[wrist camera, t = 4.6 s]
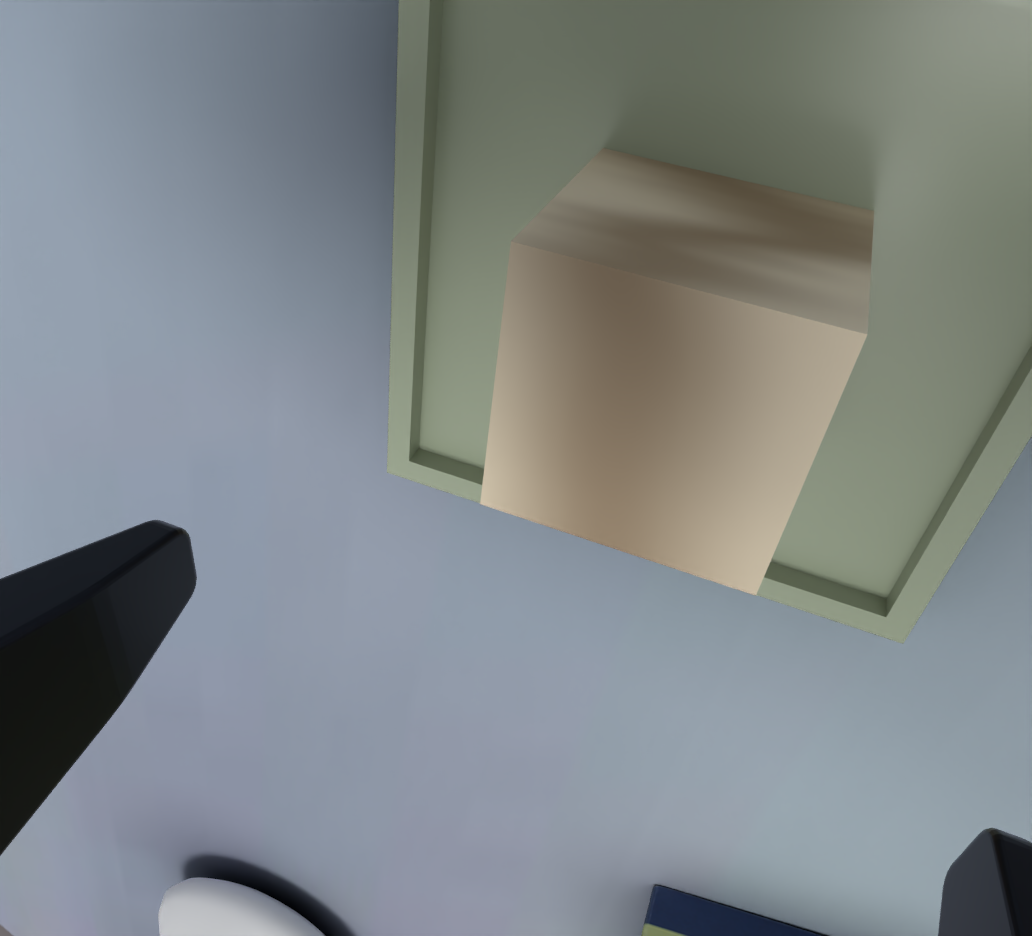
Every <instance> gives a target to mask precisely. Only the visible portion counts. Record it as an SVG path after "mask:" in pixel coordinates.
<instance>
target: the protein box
mask: <svg viewBox="0 0 1032 936" xmlns="http://www.w3.org/2000/svg"><path fill="white" fill-rule="evenodd" d="M641 936H822V935H819V934H815V933H812V932H809V931H806V930H802V929H799V928H796V927H793V926H790V925H786V924H783V923H780V922H777V921H773V920H770V919H767V918H764V917H760V916H757V915H754V914H750V913H747V912H744V911H741V910H737V909H734V908H731V907H727V906H724V905H721V904H718V903H714V902H711V901H708V900H705V899H702V898H698V897H695V896H692V895H689V894H686V893H683V892H679V891H676V890H673V889H670V888H667V887H662V886H655V887H653V890H652V894H651V898H650V903H649V907H648V910H647V914H646V918H645V923H644V927H643V931H642V935H641Z"/></svg>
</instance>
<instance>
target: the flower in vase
mask: <svg viewBox="0 0 1032 936" xmlns="http://www.w3.org/2000/svg"><path fill="white" fill-rule="evenodd" d="M158 916H159V930H160V936H325V935H324V934H323V933H322V932H321V931H320V930H319V929H318V928H316V927H315V926H314V925H313V924H312V923H310V922H309V921H308V920H307V919H305V918H304V917H303V916H301V915H300V914H299V913H297V912H296V911H294V910H293V909H291V908H290V907H288V906H286V905H285V904H283V903H281V902H279V901H278V900H276V899H274V898H272V897H270V896H268V895H266V894H264V893H262V892H260V891H258V890H255V889H253V888H250V887H247V886H244V885H241V884H237V883H234V882H230V881H225V880H219V879H212V878H202V877H196V878H189V879H186V880H184V881H182V882H180V883H178V884H176V885H174V886H172V887H170V888H169V889H167V891H166V892H165V894H164V897H163V900H162V903H161V907H160V910H159V915H158Z"/></svg>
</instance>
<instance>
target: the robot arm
mask: <svg viewBox="0 0 1032 936" xmlns="http://www.w3.org/2000/svg"><path fill="white" fill-rule="evenodd" d="M196 580H197V576H196V569H195V563H194V558H193V552H192V546H191V540H190V537H189V534H188V533H187V532H186V531H185V530H184V529H182V528H180V527H177V526H174V525H172V524H169V523H166V522H164V521H160V520H152V521H148V522H145V523H142V524H140V525H137V526H134V527H132V528H129V529H127V530H124V531H122V532H119V533H117V534H114V535H111V536H109V537H106V538H104V539H101V540H99V541H96V542H93V543H91V544H88V545H86V546H83V547H81V548H78V549H76V550H73V551H70V552H68V553H65V554H63V555H60V556H58V557H55V558H52V559H50V560H47V561H45V562H42V563H40V564H37V565H35V566H32V567H29V568H27V569H24V570H22V571H19V572H17V573H14V574H11V575H9V576H6V577H4V578H1V579H0V855H1V854H2V853H3V852H4V850H5V849H6V848H7V847H8V845H9V844H10V843H11V842H12V840H13V839H14V838H15V837H16V835H17V834H18V833H19V832H20V831H21V829H22V828H23V827H24V826H25V824H26V823H27V822H28V821H29V819H30V818H31V817H32V816H33V814H34V813H35V812H36V811H37V809H38V808H39V807H40V806H41V804H42V803H43V802H44V801H45V799H46V798H47V797H48V796H49V794H50V793H51V792H52V791H53V789H54V788H55V787H56V786H57V784H58V783H59V782H60V781H61V779H62V778H63V777H64V776H65V774H66V773H67V772H68V771H69V769H70V768H71V767H72V766H73V764H74V763H75V762H76V761H77V759H78V758H79V757H80V756H81V754H82V753H83V752H84V751H85V749H86V748H87V747H88V746H89V744H90V743H91V742H92V741H93V739H94V738H95V737H96V736H97V734H98V733H99V732H100V731H101V729H102V728H103V727H104V726H105V724H106V723H107V722H108V721H109V719H110V718H111V717H112V715H113V714H114V713H115V711H116V710H117V709H118V708H119V706H120V705H121V704H122V702H123V701H124V699H125V698H126V697H127V695H128V694H129V692H130V691H131V689H132V688H133V686H134V685H135V683H136V682H137V680H138V679H139V677H140V676H141V674H142V673H143V671H144V669H145V668H146V666H147V665H148V663H149V662H150V660H151V659H152V657H153V655H154V654H155V652H156V651H157V649H158V648H159V646H160V645H161V643H162V641H163V640H164V638H165V637H166V635H167V634H168V632H169V631H170V629H171V628H172V626H173V624H174V623H175V621H176V620H177V618H178V617H179V615H180V614H181V612H182V610H183V609H184V607H185V606H186V604H187V603H188V601H189V600H190V598H191V596H192V594H193V592H194V589H195V586H196ZM938 936H1032V843H1031V842H1029V841H1027V840H1025V839H1023V838H1020V837H1017V836H1015V835H1012V834H1009V833H1006V832H1004V831H1001V830H998V829H995V828H989V829H985V830H983V831H982V832H981V833H980V834H979V835H978V836H977V837H976V838H975V839H974V840H973V842H972V843H971V844H970V845H969V846H968V847H967V848H966V849H965V850H964V852H963V853H962V854H961V855H960V856H959V857H958V858H957V859H956V860H955V862H954V863H953V864H952V865H951V867H950V868H949V870H948V872H947V875H946V878H945V881H944V885H943V893H942V903H941V913H940V922H939V932H938Z"/></svg>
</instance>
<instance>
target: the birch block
mask: <svg viewBox="0 0 1032 936" xmlns="http://www.w3.org/2000/svg"><path fill="white" fill-rule="evenodd" d="M873 225H874V211H872V210H868V209H864V208H859V207H855V206H851V205H846V204H842V203H838V202H834V201H829V200H825V199H821V198H816V197H812V196H808V195H803V194H799V193H795V192H790V191H786V190H782V189H778V188H773V187H769V186H765V185H760V184H756V183H752V182H747V181H743V180H739V179H735V178H730V177H726V176H722V175H717V174H713V173H709V172H704V171H700V170H696V169H691V168H687V167H683V166H679V165H674V164H670V163H666V162H661V161H657V160H653V159H648V158H644V157H640V156H636V155H631V154H627V153H623V152H618V151H614V150H610V149H605V148H602V149H601V150H600V151H599V152H598V154H597V155H596V156H595V157H594V158H593V159H592V160H591V161H590V162H589V163H588V164H587V165H586V166H585V167H584V168H583V169H582V170H581V171H580V172H579V173H578V174H577V175H576V176H575V177H574V178H573V179H572V180H571V181H570V182H569V183H568V184H567V185H566V186H565V187H564V188H563V189H562V190H561V191H560V192H559V193H558V194H557V195H556V196H555V197H554V198H553V199H552V200H551V201H550V202H549V203H548V204H547V205H546V206H545V207H544V208H543V209H542V210H541V211H540V212H539V213H538V214H537V215H536V216H535V217H534V218H533V219H532V220H531V221H530V222H529V223H528V224H527V225H526V226H525V228H524V229H523V230H522V231H521V232H520V233H519V234H518V235H517V236H516V237H515V238H514V239H513V240H512V241H511V245H510V253H509V262H508V270H507V279H506V287H505V296H504V304H503V313H502V321H501V330H500V338H499V347H498V355H497V364H496V373H495V381H494V390H493V398H492V407H491V415H490V424H489V432H488V441H487V449H486V458H485V466H484V475H483V483H482V492H481V501H480V504H481V505H484V506H487V507H491V508H494V509H497V510H500V511H503V512H506V513H509V514H512V515H515V516H518V517H521V518H524V519H527V520H530V521H533V522H536V523H539V524H542V525H545V526H548V527H551V528H554V529H557V530H560V531H563V532H566V533H569V534H572V535H575V536H578V537H581V538H584V539H587V540H590V541H593V542H596V543H599V544H602V545H605V546H608V547H611V548H614V549H617V550H620V551H623V552H626V553H629V554H632V555H635V556H638V557H641V558H644V559H647V560H650V561H653V562H656V563H659V564H662V565H665V566H668V567H671V568H674V569H677V570H680V571H683V572H686V573H689V574H692V575H695V576H698V577H701V578H704V579H707V580H710V581H713V582H716V583H719V584H722V585H725V586H728V587H731V588H734V589H737V590H740V591H743V592H746V593H749V594H752V595H755V596H756V594H757V592H758V590H759V587H760V585H761V583H762V580H763V578H764V576H765V573H766V571H767V568H768V566H769V564H770V561H771V559H772V557H773V554H774V552H775V550H776V547H777V545H778V543H779V540H780V538H781V536H782V533H783V531H784V529H785V526H786V524H787V522H788V519H789V517H790V515H791V512H792V510H793V508H794V505H795V503H796V501H797V498H798V496H799V494H800V491H801V489H802V487H803V484H804V482H805V480H806V477H807V475H808V473H809V470H810V468H811V466H812V463H813V461H814V459H815V456H816V454H817V452H818V449H819V447H820V445H821V442H822V440H823V438H824V435H825V433H826V431H827V428H828V426H829V424H830V421H831V419H832V416H833V414H834V412H835V409H836V407H837V405H838V402H839V400H840V398H841V395H842V393H843V391H844V388H845V386H846V384H847V381H848V379H849V377H850V374H851V372H852V370H853V367H854V365H855V363H856V360H857V358H858V356H859V353H860V351H861V349H862V346H863V344H864V342H865V339H866V337H867V334H868V316H869V298H870V280H871V261H872V243H873Z"/></svg>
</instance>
